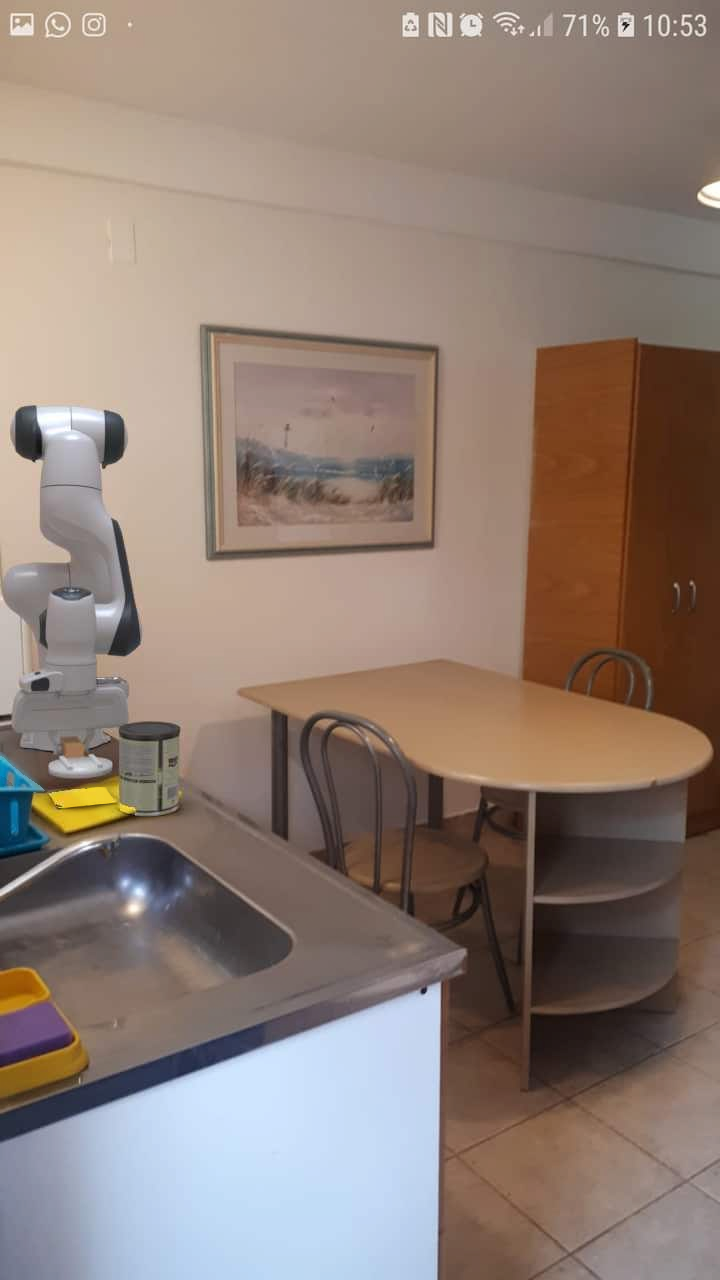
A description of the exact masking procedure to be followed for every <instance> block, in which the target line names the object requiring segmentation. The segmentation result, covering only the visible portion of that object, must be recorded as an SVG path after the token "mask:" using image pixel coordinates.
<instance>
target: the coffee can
mask: <svg viewBox="0 0 720 1280" xmlns="http://www.w3.org/2000/svg"><path fill="white" fill-rule="evenodd" d="M180 733H181V726H179V725H178V724H176V723H171V722H166V721H137V722H136V721H134V722H130V723H129V722H128V723H127V724H125V725H122V726H120V727H118V739H119V741H118V742H119V743H118V744H119V745H118V746H119V748H118V749H119V750H118V752H119V753H118V756H119V757H118V765H119V766H118V767H119V768H118V775H119V776H118V803H119V802H120V803H121V804H122V805H125V806H128V807H134V808H135V809H136V812H135V814H134V815H135V817H156V816H163V815H164V816H165V815H168V814H171V813H174V812H176V811H177V810H178V809H179V808H180V804H179V802H180V801H179V796H180V791H179V790H180V789H179V787H180Z"/></svg>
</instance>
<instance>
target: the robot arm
mask: <svg viewBox="0 0 720 1280" xmlns="http://www.w3.org/2000/svg"><path fill="white" fill-rule="evenodd" d="M9 435H10V440H11V443H12V445H13V447H14V449H15V450H14V451H15V452H16V453H17V454H18V455H19V456H20V457H21V458H22V459H23V458H24V459H25V460H30V461H31V462H32V463H35V464H36V461H42V467H41V473H40V480H39V481H40V484H39V530H40V532H41V534H42V536H43V537H44V538H45V540H47V541H49V542H50V543H52V544H53V545H55V546H57V547H59V548H62V549H64V550H66V551H67V552H68V553H69V557H70V561H69V562H38V561H37V562H35V561H34V562H27V563H23V564H16V565H12V566H11V567H10V568H8V570H7V571H6V573H5V574H4V576H3V578H2V581H1V586H0V588H1V589H0V590H1V595H2V598H3V600H4V603H5V604H6V606H7V607H8V608H9V610H11V611H12V612H14V613H15V614H16V615H18V616H19V617H20V618H21V619H22V620H23V621H24V622H25V623H26V624H27V626H28V627H29V629H30V630H31V632H32V633H33V636H34V638H35V642H36V647H37V655H38V669H37V670H34V671H32V672H30V673H29V672H28V673H26V674H23V675H21V676H20V677H19V679H18V686H19V688H20V689H19V690H18V691H17V693H16V694H15V696H14V699H13V703H12V711H11V728H12V729H13V730H14V731H15V732H16V733H17V734H22V735H21V737H20V742H19V747H20V748H27V749H35V750H40V751H49V752H53V755H54V756H59V755H63V754H64V752H63V750H64V746H63V745H62V744H59V737H69V736H77V737H78V738H79V740H80V741H81V742H82V743H83V744H84V754H90V753H89V752H90V751H89V749H92V748H95V747H96V748H97V747H98V746H100V745H102V744H106V743H109V742H108V741H110V740H111V736H110V735H107V734H106V733H104V729H113V728H119V727H120V726H122V725H125V724H129V722H130V721H129V719H130V718H129V706H128V700H127V699H128V697H129V695H130V685H129V683H128V681H127V680H125V679H123V678H122V677H121V676H112V677H109V676H108V677H107V676H106V677H105V676H104V677H103V676H102V677H101V676H100V677H98V675H97V674H98V673H97V672H98V668H97V667H98V659H97V656H96V655H107V656H111V657H113V656H115V657H123V658H124V657H127V656H129V655H130V654H132V653H133V652H135V650H136V649H138V647H140V646H141V641H142V639H143V624H142V621H141V616H140V613H139V611H138V608H137V605H136V600H135V594H134V588H133V581H132V578H131V571H130V565H129V561H128V554H127V550H126V546H125V545H126V544H125V540H124V536H123V532H122V528H121V526H120V524H119V522H118V520H116V519H114V518H113V517H111V516H110V515H109V513H108V511H107V510H106V507H105V505H104V502H103V485H102V484H103V482H102V471H101V470H104V469H106V468H107V466H109V465H113V464H116V463H118V461H120V460H121V459H122V458H123V457H124V453H125V452H126V450H127V446H128V443H129V433H128V429H127V426H126V424H125V419H124V418H123V417H122V415H120V414H119V413H117V412H114V411H110V410H107V409H103V410H99V409H94V408H91V407H90V408H89V407H83V406H75V405H70V406H60V405H59V406H58V405H53V406H49V405H47V406H46V405H45V406H37V405H36V404H34V405H25V406H20V407H19V408H18V409H17V410H16V411H15V413H14V416H13V417H12V420H11V422H10V427H9ZM101 468H102V469H101ZM111 741H112V740H111ZM111 741H110V742H111Z"/></svg>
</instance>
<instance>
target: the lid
mask: <svg viewBox="0 0 720 1280" xmlns="http://www.w3.org/2000/svg"><path fill="white" fill-rule="evenodd" d="M59 744H62V745H63V746H64V750H63V752H64V754H63V755H58V757H59V759H55V760H52V761H51V762H49V763H48V774H50V775H51V776H53V777H57V778H63V779H91V778H97V777H102V776H106V775H108V774H111V772H112V771H113V762H112V760H110V759H109V758H105V757H97V756H96V755H94V754H93V753H91V754H90V753H87V754H88V756H85V755H84V754H85V753H84V744H83V743H82V742H81V741H80V740H79V738H78V737H77V736H69V737H59Z"/></svg>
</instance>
